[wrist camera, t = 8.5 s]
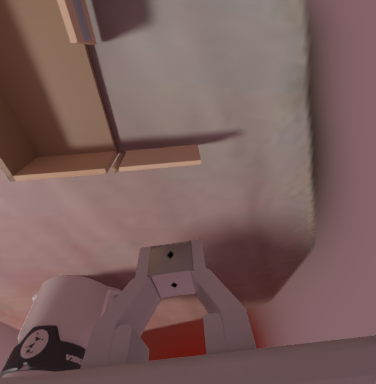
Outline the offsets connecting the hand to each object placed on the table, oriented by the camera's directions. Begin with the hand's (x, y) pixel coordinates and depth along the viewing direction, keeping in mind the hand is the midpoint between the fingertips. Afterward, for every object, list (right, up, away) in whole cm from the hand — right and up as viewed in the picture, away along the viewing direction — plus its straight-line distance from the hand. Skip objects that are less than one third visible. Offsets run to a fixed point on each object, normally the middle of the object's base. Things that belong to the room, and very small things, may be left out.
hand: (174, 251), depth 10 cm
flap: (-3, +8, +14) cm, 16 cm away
